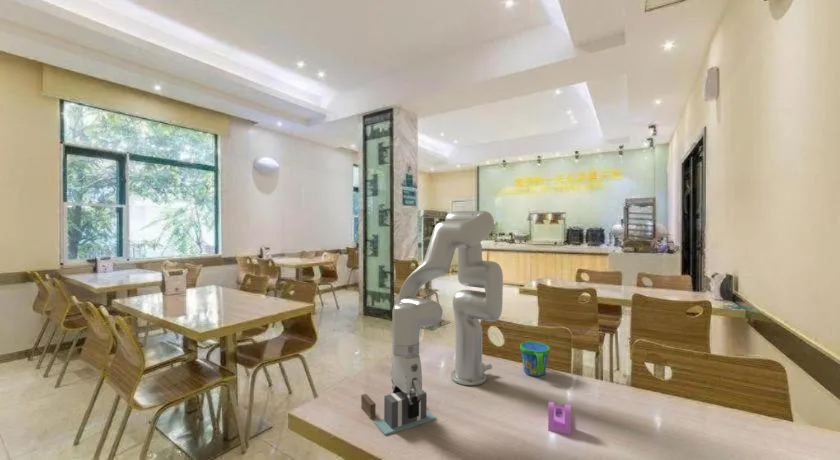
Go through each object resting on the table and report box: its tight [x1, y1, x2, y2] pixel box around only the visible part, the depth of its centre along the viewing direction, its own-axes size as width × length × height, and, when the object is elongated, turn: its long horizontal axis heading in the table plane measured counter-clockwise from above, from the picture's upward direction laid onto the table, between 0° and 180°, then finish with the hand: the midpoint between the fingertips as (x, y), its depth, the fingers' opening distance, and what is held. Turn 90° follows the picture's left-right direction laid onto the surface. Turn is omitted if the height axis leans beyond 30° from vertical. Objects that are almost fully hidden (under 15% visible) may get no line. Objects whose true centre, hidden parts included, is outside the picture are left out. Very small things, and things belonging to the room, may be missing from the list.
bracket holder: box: [360, 393, 377, 420], centre depth 111 cm, size 16×7×4 cm, turn 121°
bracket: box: [547, 401, 572, 435], centre depth 104 cm, size 13×6×7 cm, turn 160°
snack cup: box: [519, 341, 551, 378], centre depth 136 cm, size 16×10×10 cm
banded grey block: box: [383, 389, 428, 429], centre depth 103 cm, size 11×4×7 cm, turn 121°
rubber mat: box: [373, 408, 437, 436], centre depth 103 cm, size 16×7×1 cm, turn 121°
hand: (405, 409), depth 103 cm, fingers open, 8 cm apart
